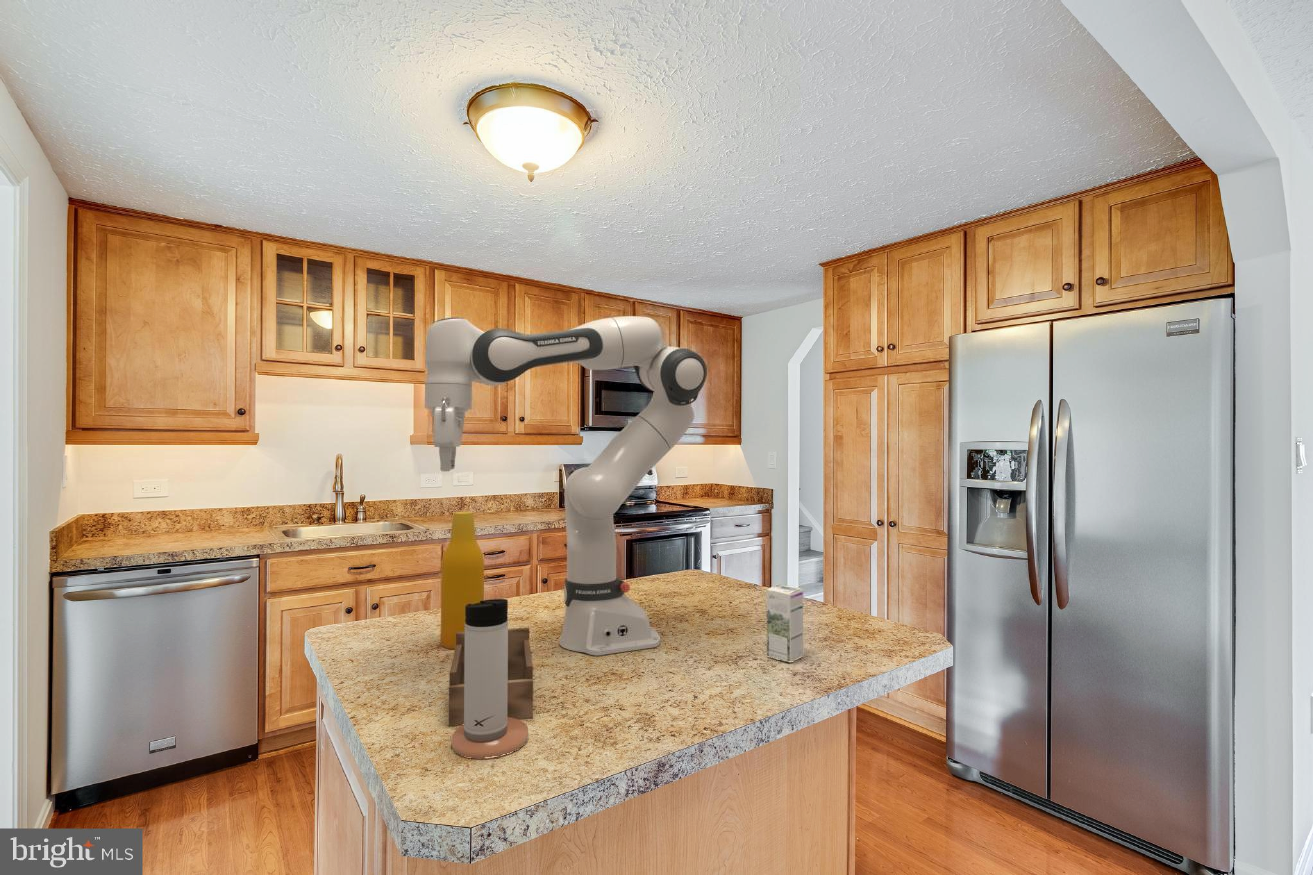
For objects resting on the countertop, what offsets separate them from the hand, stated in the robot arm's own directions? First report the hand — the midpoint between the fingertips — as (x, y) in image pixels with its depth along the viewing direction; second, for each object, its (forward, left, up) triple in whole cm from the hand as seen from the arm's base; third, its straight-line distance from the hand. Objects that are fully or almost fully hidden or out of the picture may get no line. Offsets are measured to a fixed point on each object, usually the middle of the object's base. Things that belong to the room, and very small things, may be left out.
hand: (447, 470), depth 123 cm
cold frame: (-9, +18, -39) cm, 44 cm away
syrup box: (-68, +9, -39) cm, 79 cm away
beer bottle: (-2, -16, -39) cm, 43 cm away
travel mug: (-8, +32, -38) cm, 51 cm away
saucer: (-9, +32, -39) cm, 52 cm away
